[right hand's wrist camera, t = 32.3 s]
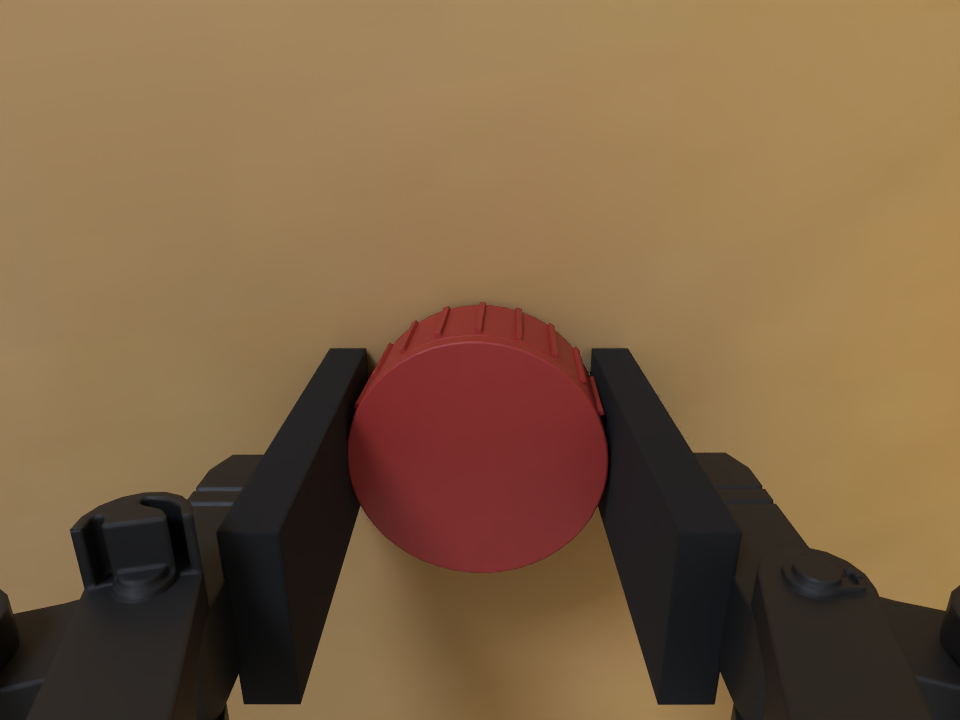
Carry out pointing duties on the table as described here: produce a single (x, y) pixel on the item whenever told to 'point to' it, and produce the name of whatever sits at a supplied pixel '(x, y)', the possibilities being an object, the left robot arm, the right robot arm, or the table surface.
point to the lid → (479, 441)
